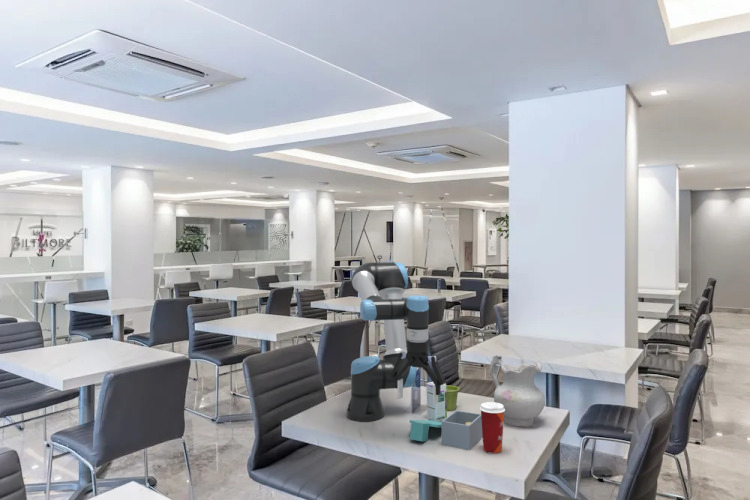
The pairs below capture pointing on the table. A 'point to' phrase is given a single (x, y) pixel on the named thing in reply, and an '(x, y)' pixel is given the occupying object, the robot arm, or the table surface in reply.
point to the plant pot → (451, 397)
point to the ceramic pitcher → (518, 392)
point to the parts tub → (462, 429)
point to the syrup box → (438, 410)
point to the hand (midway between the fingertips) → (417, 400)
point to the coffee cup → (492, 426)
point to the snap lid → (422, 429)
